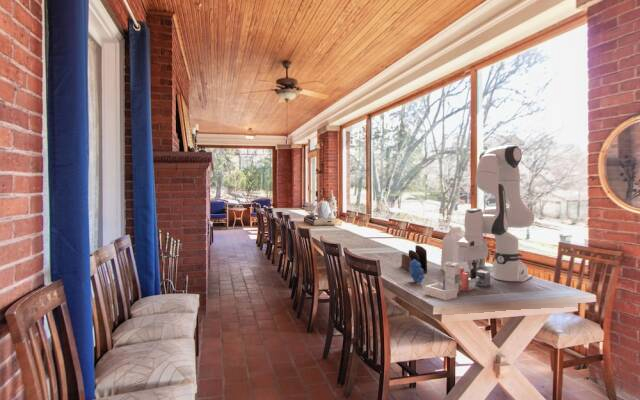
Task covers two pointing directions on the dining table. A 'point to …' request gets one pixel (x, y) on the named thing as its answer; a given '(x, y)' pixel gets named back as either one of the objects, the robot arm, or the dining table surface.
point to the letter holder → (418, 255)
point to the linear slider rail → (465, 279)
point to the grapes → (416, 271)
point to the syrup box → (451, 276)
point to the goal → (440, 292)
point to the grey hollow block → (485, 280)
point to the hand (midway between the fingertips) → (473, 268)
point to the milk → (452, 248)
